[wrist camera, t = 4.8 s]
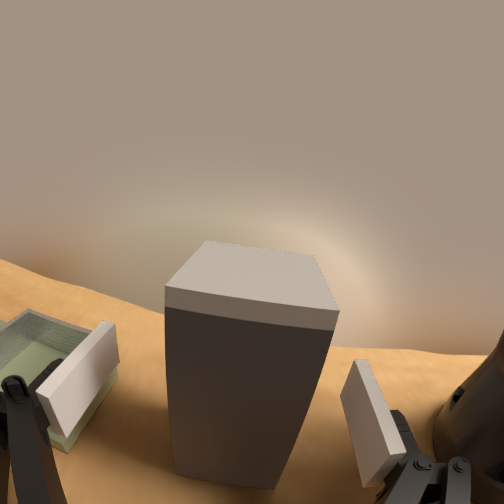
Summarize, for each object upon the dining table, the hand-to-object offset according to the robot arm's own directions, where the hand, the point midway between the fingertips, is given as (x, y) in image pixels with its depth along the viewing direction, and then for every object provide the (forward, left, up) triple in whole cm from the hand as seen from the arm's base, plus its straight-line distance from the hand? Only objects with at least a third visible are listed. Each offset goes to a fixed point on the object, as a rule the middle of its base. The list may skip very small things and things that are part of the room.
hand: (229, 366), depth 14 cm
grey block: (-1, 0, -7) cm, 7 cm away
